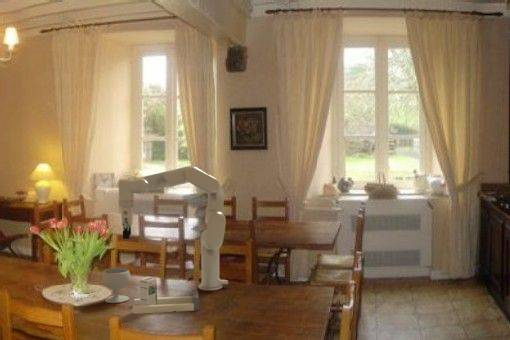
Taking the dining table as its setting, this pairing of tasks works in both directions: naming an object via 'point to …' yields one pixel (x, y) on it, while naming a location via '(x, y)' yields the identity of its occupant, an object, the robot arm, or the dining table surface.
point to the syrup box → (148, 291)
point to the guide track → (169, 304)
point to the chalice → (116, 283)
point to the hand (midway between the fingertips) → (127, 236)
